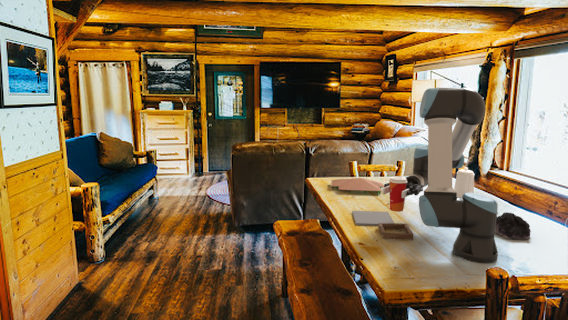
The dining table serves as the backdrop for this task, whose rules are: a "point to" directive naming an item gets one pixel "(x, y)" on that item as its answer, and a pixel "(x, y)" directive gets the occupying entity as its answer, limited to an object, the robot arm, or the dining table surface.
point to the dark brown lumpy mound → (512, 227)
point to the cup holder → (399, 236)
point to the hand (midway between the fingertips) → (392, 193)
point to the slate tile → (371, 218)
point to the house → (357, 185)
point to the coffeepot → (464, 182)
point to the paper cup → (397, 193)
